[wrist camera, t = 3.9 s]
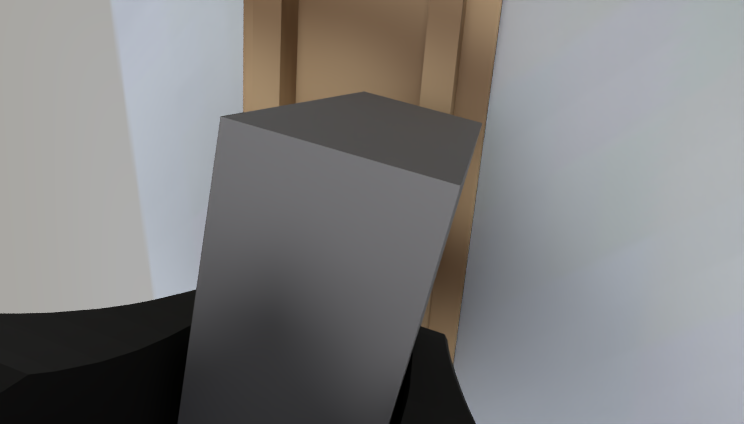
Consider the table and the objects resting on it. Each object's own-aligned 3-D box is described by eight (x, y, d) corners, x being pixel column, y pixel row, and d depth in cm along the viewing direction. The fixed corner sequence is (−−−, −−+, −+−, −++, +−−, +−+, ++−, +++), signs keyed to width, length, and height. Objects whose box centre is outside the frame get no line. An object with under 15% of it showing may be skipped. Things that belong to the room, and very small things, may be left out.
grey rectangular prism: (482, 122, 12) (460, 185, 6) (383, 448, 16) (296, 727, 9) (352, 88, 13) (198, 109, 6) (282, 410, 16) (130, 647, 9)
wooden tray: (440, 459, 23) (433, 504, 21) (252, 415, 25) (226, 451, 22) (507, -36, 17) (508, -52, 15) (256, -45, 19) (221, -61, 17)
